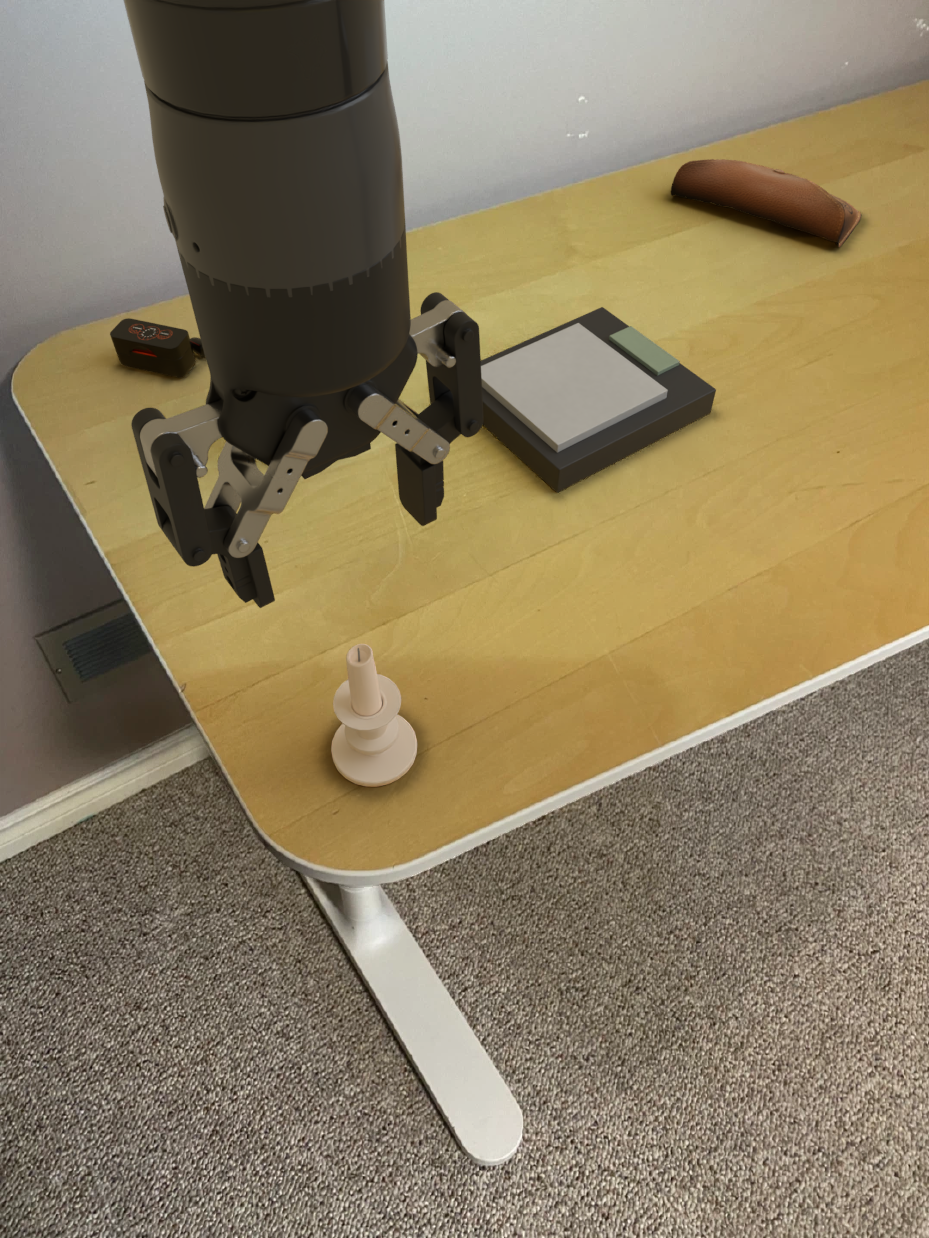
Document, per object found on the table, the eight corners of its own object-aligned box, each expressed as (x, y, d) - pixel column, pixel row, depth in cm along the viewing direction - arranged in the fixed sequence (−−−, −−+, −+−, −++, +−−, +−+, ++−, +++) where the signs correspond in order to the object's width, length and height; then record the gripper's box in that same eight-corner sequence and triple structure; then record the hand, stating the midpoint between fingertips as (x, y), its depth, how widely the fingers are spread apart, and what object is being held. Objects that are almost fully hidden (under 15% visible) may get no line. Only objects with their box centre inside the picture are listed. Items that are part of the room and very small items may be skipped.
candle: (346, 799, 57) (325, 701, 48) (321, 729, 60) (297, 626, 51) (429, 770, 58) (422, 670, 50) (401, 702, 61) (389, 598, 53)
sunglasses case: (867, 210, 97) (874, 167, 90) (835, 270, 96) (840, 232, 90) (703, 163, 103) (699, 120, 97) (672, 220, 103) (666, 180, 96)
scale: (599, 330, 85) (603, 298, 83) (711, 413, 78) (718, 381, 76) (451, 397, 80) (450, 365, 77) (557, 493, 72) (559, 461, 70)
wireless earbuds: (192, 384, 81) (183, 351, 78) (118, 368, 82) (106, 335, 80) (218, 352, 84) (210, 320, 81) (146, 337, 85) (135, 305, 83)
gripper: (130, 350, 27) (239, 681, 40) (533, 198, 32) (514, 534, 45) (36, 233, 31) (162, 569, 43) (408, 114, 36) (424, 446, 48)
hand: (341, 551), depth 44 cm, fingers open, 8 cm apart
